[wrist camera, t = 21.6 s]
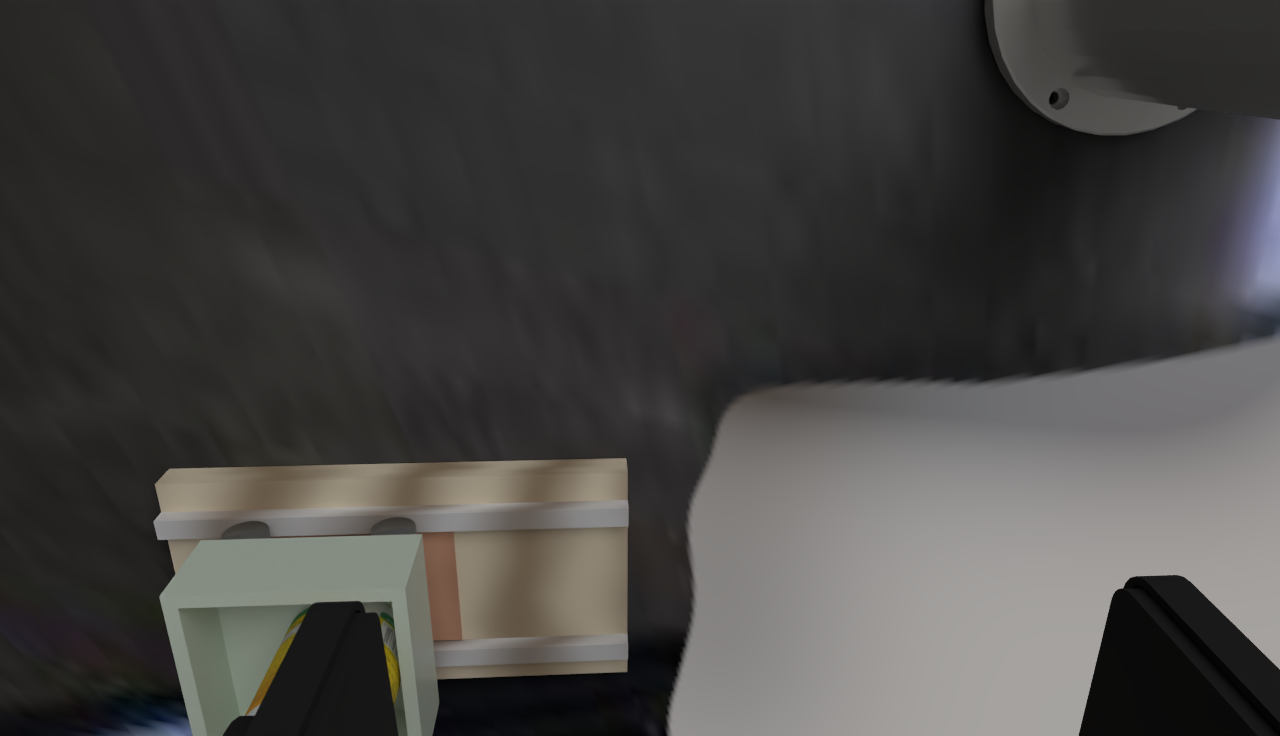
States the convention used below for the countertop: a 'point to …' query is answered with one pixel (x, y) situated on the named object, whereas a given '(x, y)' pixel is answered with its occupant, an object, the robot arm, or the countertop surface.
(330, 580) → the sage green storage bin
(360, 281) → the countertop surface
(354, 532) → the track
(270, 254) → the countertop surface
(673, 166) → the countertop surface
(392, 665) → the supplement bottle
